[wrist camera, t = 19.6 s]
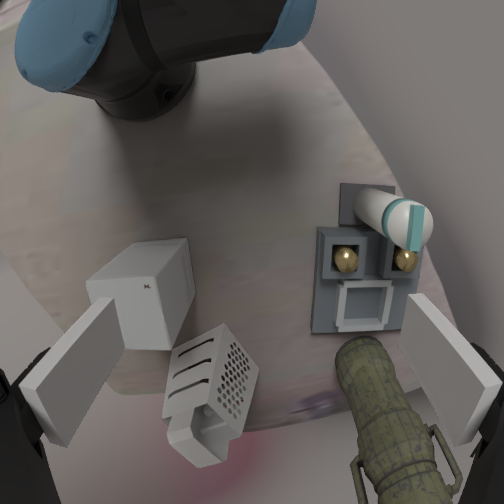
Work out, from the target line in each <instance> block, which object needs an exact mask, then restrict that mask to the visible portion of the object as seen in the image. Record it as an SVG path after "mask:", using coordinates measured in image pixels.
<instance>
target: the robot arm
mask: <svg viewBox="0 0 504 504" xmlns="http://www.w3.org/2000/svg"><path fill="white" fill-rule="evenodd" d="M316 2H317V0H32V1H31V2H30V4H29V6H28V8H27V10H26V12H25V13H24V15H23V17H22V19H21V21H20V24H19V27H18V30H17V34H16V39H15V60H16V64H17V67H18V70H19V72H20V73H21V75H22V76H23V78H25V79H26V80H27V81H28V82H30V83H31V84H33V85H36V86H38V87H41V88H43V89H45V90H47V91H49V92H57V93H58V92H62V93H67V94H72V95H76V96H81V97H85V98H90V99H94V100H95V101H96V103H97V104H98V105H99V107H100V108H101V109H102V110H103V111H105V112H106V113H107V114H109V115H111V116H113V117H115V118H118V119H121V120H126V121H133V122H140V121H147V120H151V119H154V118H157V117H159V116H161V115H163V114H165V113H166V112H168V111H169V110H171V109H172V108H173V107H175V106H176V105H177V104H178V103H179V102H180V101H181V99H182V98H183V97H184V95H185V94H186V93H187V91H188V89H189V87H190V85H191V83H192V80H193V77H194V73H195V62H200V61H205V60H209V59H214V58H220V57H225V56H231V55H236V54H243V53H249V52H251V53H252V54H259V53H262V52H264V51H266V50H271V49H278V48H285V47H290V46H293V45H295V44H297V43H298V42H299V41H301V40H302V39H303V38H304V37H305V36H306V35H307V33H308V31H309V29H310V27H311V24H312V21H313V18H314V14H315V9H316ZM398 347H399V349H400V350H401V352H402V354H403V355H404V357H405V359H406V360H407V362H408V364H409V365H410V367H411V369H412V371H413V372H414V374H415V376H416V377H417V379H418V381H419V383H420V384H421V386H422V388H423V390H424V391H425V393H426V395H427V397H428V399H429V400H430V402H431V404H432V406H433V408H434V409H435V411H436V413H437V415H438V417H439V419H440V421H441V422H442V424H443V426H444V428H445V430H446V432H447V434H448V436H449V438H450V439H451V441H452V443H453V445H454V447H457V446H460V445H463V444H466V443H469V442H471V441H472V440H473V438H474V436H475V435H476V433H477V431H478V430H479V432H480V434H481V435H482V438H481V440H480V442H479V443H478V445H477V446H476V448H475V449H474V451H473V453H472V454H471V456H470V457H473V456H474V454H475V453H476V454H475V457H474V460H473V464H472V467H471V470H470V473H469V475H468V478H467V481H466V484H465V487H464V489H463V492H462V495H461V497H460V500H459V503H458V504H504V372H503V371H502V370H501V368H500V367H499V366H498V365H497V364H495V362H494V361H493V360H492V358H490V356H489V355H488V354H487V353H486V351H485V350H484V349H482V348H481V347H479V346H477V345H476V344H474V343H468V341H467V340H466V339H465V338H464V337H463V336H462V335H461V334H460V332H459V331H458V330H457V329H456V328H455V327H454V326H453V325H452V324H451V323H450V322H449V320H448V319H447V318H446V317H445V316H444V315H443V314H442V313H441V312H440V311H439V310H438V309H437V308H436V307H435V306H434V305H433V304H432V303H431V302H430V300H429V299H428V298H427V297H426V296H425V295H424V294H423V293H419V294H408V298H407V303H406V309H405V314H404V319H403V324H402V329H401V334H400V338H399V343H398ZM124 350H125V345H124V341H123V337H122V332H121V328H120V324H119V319H118V315H117V310H116V306H115V301H114V298H107V297H99V298H98V299H97V300H96V301H95V302H94V303H93V304H92V305H91V306H90V308H89V309H88V310H87V311H86V312H85V313H84V314H83V315H82V316H81V317H80V318H79V319H78V320H77V321H76V322H75V323H74V324H73V325H72V326H71V327H70V328H69V329H68V331H67V332H66V333H65V334H64V335H63V336H62V337H61V338H60V339H59V340H58V341H57V342H56V343H55V345H54V346H53V347H52V348H50V347H49V348H48V349H46V350H44V351H43V352H41V353H40V354H39V355H38V356H37V357H36V358H35V359H34V360H33V363H30V365H29V366H28V368H27V369H25V370H24V371H23V372H22V373H21V375H20V376H19V377H18V378H17V379H16V380H15V381H14V383H13V384H12V385H11V386H10V384H9V382H8V380H7V378H6V376H5V373H4V371H3V370H2V369H0V504H61V501H60V499H59V496H58V493H57V490H56V487H55V484H54V481H53V478H52V474H51V471H50V468H49V464H48V461H47V457H46V454H45V450H44V446H43V443H42V442H41V440H40V437H41V435H42V434H43V432H44V433H45V435H46V436H47V438H48V440H49V441H50V443H53V444H56V445H59V446H63V447H65V448H67V446H68V445H69V443H70V441H71V439H72V437H73V435H74V434H75V432H76V430H77V429H78V427H79V425H80V423H81V421H82V420H83V418H84V416H85V415H86V413H87V411H88V410H89V408H90V406H91V404H92V403H93V401H94V399H95V398H96V396H97V394H98V393H99V391H100V389H101V388H102V386H103V384H104V382H105V381H106V379H107V378H108V376H109V374H110V373H111V371H112V369H113V368H114V366H115V365H116V363H117V361H118V360H119V358H120V356H121V355H122V353H123V352H124Z"/></svg>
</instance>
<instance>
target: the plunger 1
mask: <svg viewBox="0 0 504 504" xmlns="http://www.w3.org/2000/svg"><path fill="white" fill-rule="evenodd" d="M332 259H333V260H334V262H335V263H336V265H337V267H338V268H339V270H340V271H342V272H344V273H350V272H352V271H354V270H355V269H356V268H357V266H358V263H359V259H358V256H357V255H356V254H355V252H354V251H353V250H352V249H351V248H350V247H349V245H338V244H335V245H334V246H333V247H332Z"/></svg>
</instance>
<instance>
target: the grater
mask: <svg viewBox="0 0 504 504" xmlns="http://www.w3.org/2000/svg"><path fill="white" fill-rule="evenodd" d="M211 338H214V342H207V343H205V344H203V345H201V346H199V347H197V348H195V349H193V350H191V351H189V352H187V353H185V354H183V355H181V356H180V357H178V355H179V354H181V353H182V352H183V351H185V350H187V349H190V348H192V347H194V346H196V345H198V344H200V343H202V342H204V341H206V340H208V339H211ZM233 342H235V343H236V345H237V347H235V346H234V344H233ZM231 344H232V345H233V348H234V349H233V350H232V349H231V347H230V345H231ZM238 347H239V348H240V351H241V352H238V349H237V348H238ZM234 350H236V351H237V353H238V355H236V354H235V352H234ZM231 351H233V353H234V356H232V355H231ZM228 353H229V354H230V355H231V359H229V358H228ZM242 353H244V356H245V357H244V358H243V357H242ZM239 355H240V356H241V358H242V360H240V359H239ZM235 356H237V358H238V361H236V359H235ZM208 358H211V362H204V363H202V364H200V365H198V366H196V367H193V368H191V369H189V368H188V367H189V366H191V365H194V364H196V363H198V362H200V361H202V360H204V359H208ZM245 358H247V359H248V363H247V362H246V359H245ZM232 359H234V360H235V364H233V362H232ZM243 360H244V361H245V362H246V365H244V364H243ZM228 361H230V363H231V367H230V366H229V365H228ZM239 362H241V363H242V365H243V366H242V367H241V366H240V364H239ZM225 364H226V365H227V366H228V370H226V369H225V366H224V365H225ZM237 364H238V365H239V367H240V369H239V370H238V369H237V367H236V365H237ZM247 365H248V366H249V368H250V370H248V369H247ZM232 367H235V369H236V372H234V371H233V369H232ZM243 367H246V370H247V371H246V372H245V371H244V369H243ZM229 370H231V371H232V373H233V375H230V373H229ZM241 370H243V372H244V375H242V374H241ZM225 372H227V373H228V375H229V376H228V378H227V377H226V376H225ZM237 372H239V374H240V378H239V377H238V376H237ZM258 373H259V368H258V367H257V365H256V364H255V363H254V362H253V360H252V359H251V358H250V356H249V355H248V354H247V352H246V351H245V350H244V349H243V347H242V346H241V345H240V343H239V342H238V341H237V339H236V338H235V337H234V335H233V334H232V333H231V331H230V330H229V329H228V327H227V326H226V325H225V323H223V324H221V325H219V326H217V327H215V328H213V329H212V330H210V331H208V332H206V333H204V334H202V335H200V336H198V337H196V338H194V339H192V340H190V341H188V342H186V343H184V344H182V345H180V346H178V347H176V348H174V349H172V354H171V360H170V366H169V372H168V378H167V385H166V392H165V398H164V405H163V412H162V420H163V421H164V422H165V423H166V424H167V425H168V426H169V427H168V431H167V437H168V441H169V444H170V445H171V446H172V447H173V448H174V449H176V450H177V451H178V452H179V453H180V454H181V455H183V456H184V457H185V458H186V459H188V460H189V461H190V462H191V463H192V464H194V465H195V466H196V467H198V468H200V467H205V466H209V465H213V464H217V463H220V462H223V461H225V460H227V455H228V447H229V441H230V440H234V439H237V438H240V437H241V435H242V432H243V428H244V425H245V421H246V417H247V414H248V410H249V407H250V403H251V399H252V396H253V392H254V388H255V384H256V381H257V377H258ZM221 375H223V376H224V377H225V381H223V380H222V378H221ZM234 375H235V376H236V377H237V379H236V380H235V379H234ZM245 375H246V376H245ZM230 377H231V378H232V379H233V381H232V382H230ZM207 378H209V384H208V383H201V382H200V381H199V380H202V379H207ZM226 381H229V383H227V384H226ZM221 384H224V385H222V386H221ZM241 384H242V385H241ZM240 385H241V386H240ZM243 385H244V386H243ZM236 386H238V388H235V387H236ZM231 388H234V390H231ZM226 390H229V392H226ZM220 393H221V394H220ZM223 393H224V394H223ZM241 400H244V402H241ZM237 401H239V404H236V402H237ZM230 404H231V405H230ZM233 404H235V405H233ZM224 406H227V408H226V409H225V408H224ZM213 411H215V413H214V412H213ZM206 448H207V449H206Z"/></svg>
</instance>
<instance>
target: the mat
mask: <svg viewBox="0 0 504 504" xmlns="http://www.w3.org/2000/svg"><path fill="white" fill-rule="evenodd" d="M364 188H374V189H377V190H380V191H383V192H387V193H390V194H393V195H395V186H383V185H366V184H347V183H340V202H339V222H338V224H345V225H367V224H366V223H364V222H363V221H361V220H360V219H359V218H358V217H357V216H356V215H355V213H354V211H353V200H354V197H355V196H356V194H357V193H358V192H359V191H360V190H362V189H364Z"/></svg>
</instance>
